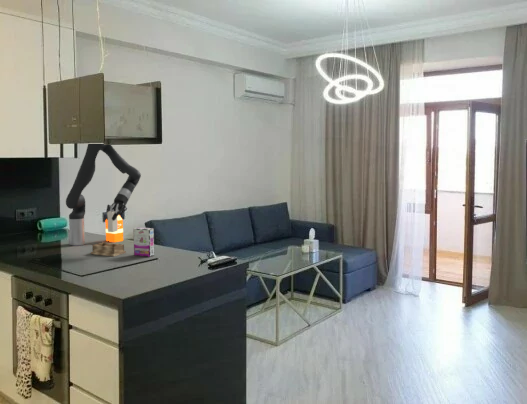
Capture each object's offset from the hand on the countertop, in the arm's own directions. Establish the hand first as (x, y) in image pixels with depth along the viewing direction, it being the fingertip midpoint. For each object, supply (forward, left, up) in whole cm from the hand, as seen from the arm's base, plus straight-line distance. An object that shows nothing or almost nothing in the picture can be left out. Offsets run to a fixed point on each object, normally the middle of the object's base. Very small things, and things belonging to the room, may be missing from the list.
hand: (110, 219), depth 286 cm
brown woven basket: (-4, +2, -21) cm, 22 cm away
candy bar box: (+19, +6, -22) cm, 30 cm away
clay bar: (0, +2, -8) cm, 8 cm away
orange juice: (-27, +36, -22) cm, 50 cm away
